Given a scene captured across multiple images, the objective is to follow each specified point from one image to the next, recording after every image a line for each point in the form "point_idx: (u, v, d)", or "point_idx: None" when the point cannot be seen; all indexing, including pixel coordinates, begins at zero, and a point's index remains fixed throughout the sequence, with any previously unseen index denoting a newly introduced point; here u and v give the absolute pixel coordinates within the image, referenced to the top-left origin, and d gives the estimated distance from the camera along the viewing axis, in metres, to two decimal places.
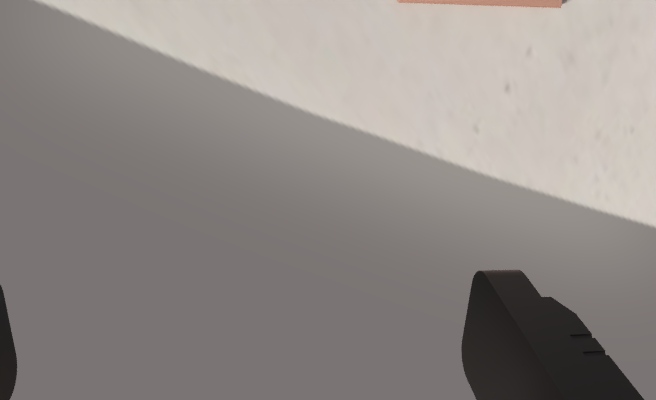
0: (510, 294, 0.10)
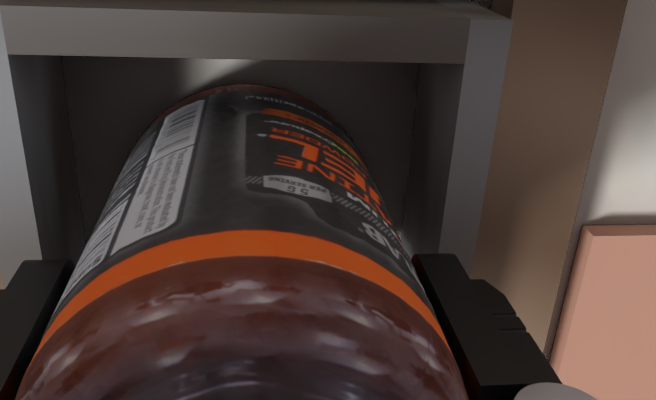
0: (439, 275, 0.10)
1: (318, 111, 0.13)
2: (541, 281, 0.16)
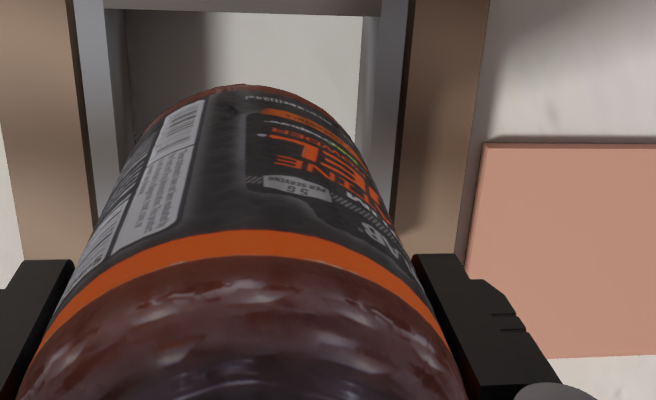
0: (439, 275, 0.10)
1: (318, 111, 0.13)
2: (451, 178, 0.23)
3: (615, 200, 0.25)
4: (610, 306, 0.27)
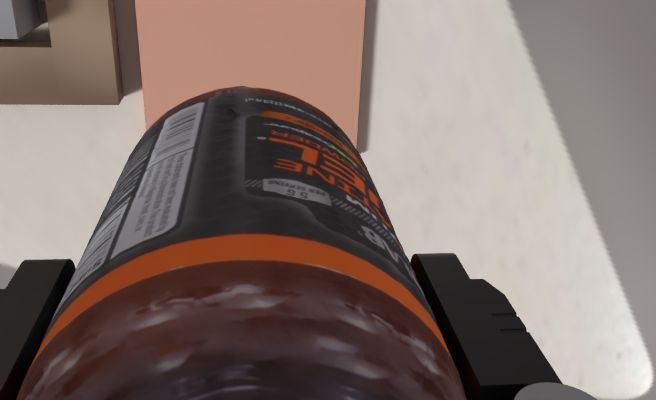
0: (439, 275, 0.10)
1: (318, 114, 0.13)
2: None
3: None
4: None
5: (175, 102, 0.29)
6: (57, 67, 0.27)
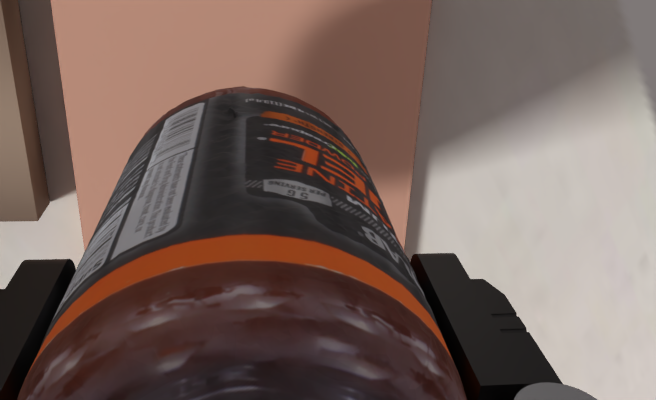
0: (439, 275, 0.10)
1: (318, 114, 0.13)
2: None
3: (272, 52, 0.17)
4: None
5: None
6: None
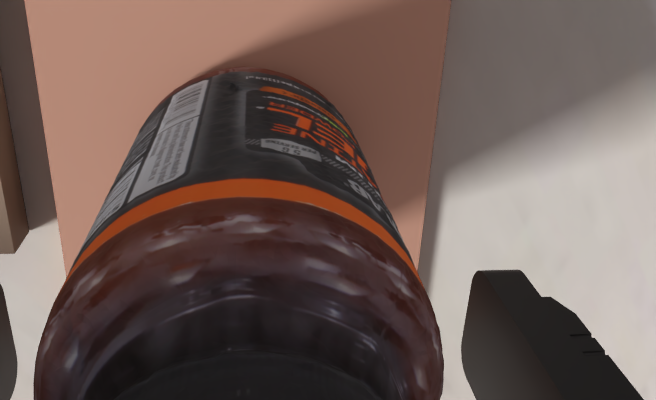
0: (510, 294, 0.10)
1: (312, 91, 0.15)
2: None
3: (272, 68, 0.16)
4: None
5: None
6: None
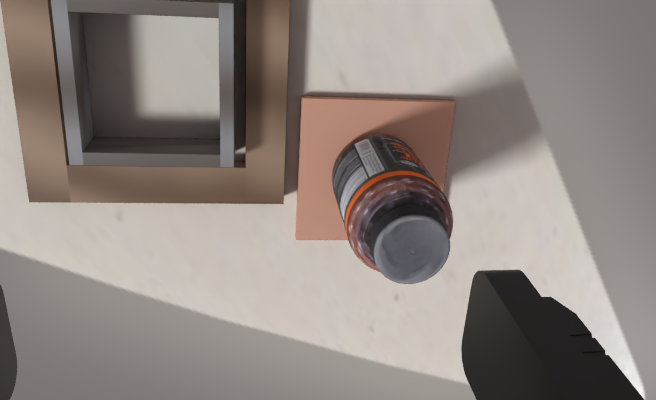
0: (510, 294, 0.10)
1: (404, 143, 0.40)
2: (277, 115, 0.39)
3: (386, 133, 0.41)
4: None
5: (318, 201, 0.42)
6: (247, 180, 0.41)
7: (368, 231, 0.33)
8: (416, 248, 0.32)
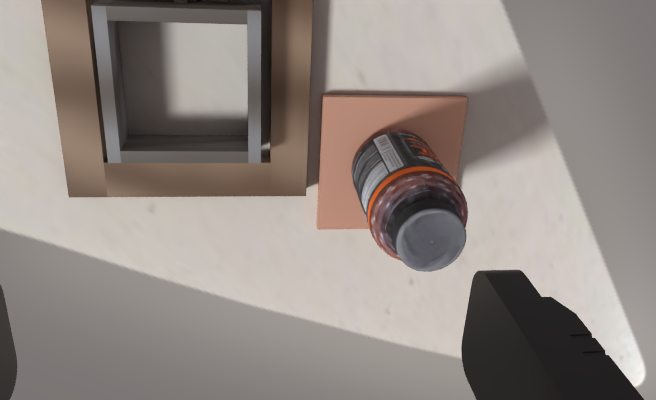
0: (510, 294, 0.10)
1: (419, 138, 0.43)
2: (301, 113, 0.42)
3: (403, 128, 0.44)
4: None
5: (338, 192, 0.45)
6: (272, 174, 0.43)
7: (390, 223, 0.36)
8: (435, 239, 0.34)
